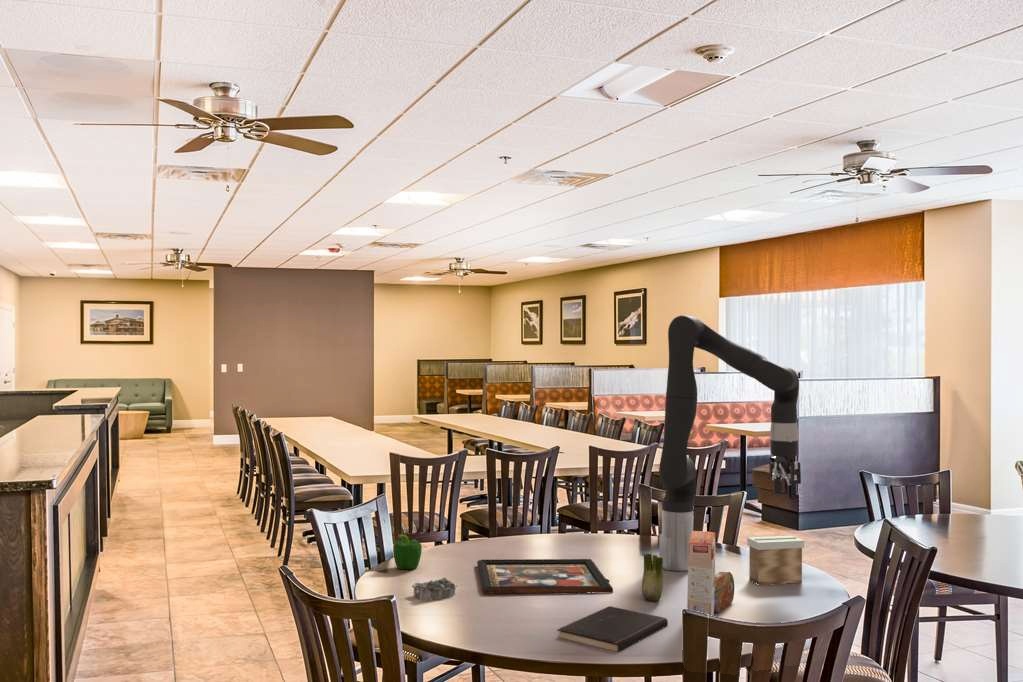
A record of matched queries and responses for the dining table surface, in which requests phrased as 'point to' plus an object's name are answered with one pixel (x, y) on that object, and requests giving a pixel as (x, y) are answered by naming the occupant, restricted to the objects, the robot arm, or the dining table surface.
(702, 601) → the cracker box
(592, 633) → the hardcover book
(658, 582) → the fennel bulb
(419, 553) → the bell pepper
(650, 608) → the dining table surface
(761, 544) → the lid
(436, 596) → the egg carton
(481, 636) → the dining table surface
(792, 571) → the oak box
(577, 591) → the framed icon painting
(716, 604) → the tin
